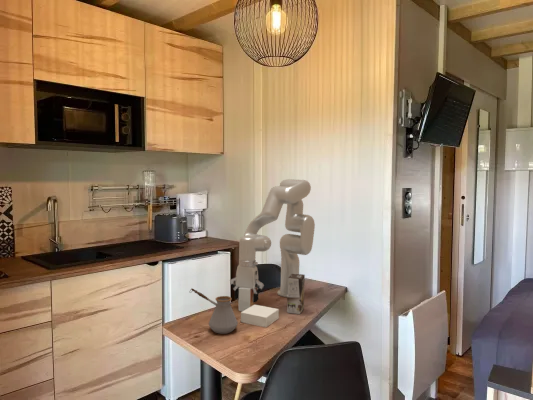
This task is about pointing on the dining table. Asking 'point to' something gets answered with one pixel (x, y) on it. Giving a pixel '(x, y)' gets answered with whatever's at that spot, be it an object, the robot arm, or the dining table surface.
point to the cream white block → (259, 315)
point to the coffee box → (295, 293)
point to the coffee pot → (221, 314)
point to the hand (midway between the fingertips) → (246, 299)
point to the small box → (245, 298)
